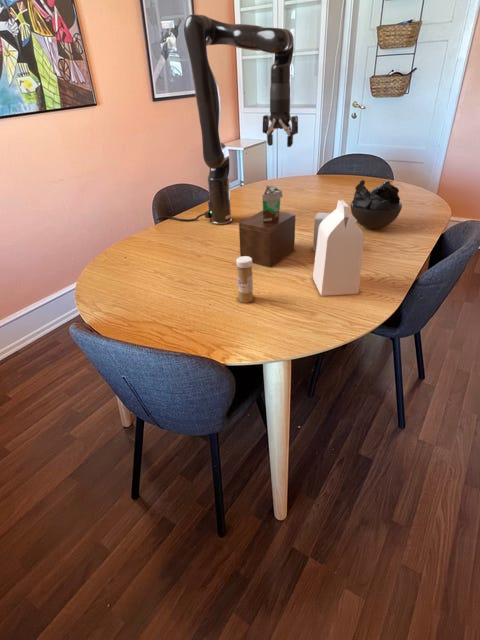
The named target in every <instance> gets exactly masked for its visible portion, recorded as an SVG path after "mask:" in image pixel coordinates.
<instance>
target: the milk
mask: <svg viewBox="0 0 480 640" xmlns="http://www.w3.org/2000/svg"><path fill="white" fill-rule="evenodd" d="M330 213H331V214H330V215H328V216H327V217H326V218H325V219H324V220H323V221H322V222H321V223H320V225H319V230H318V238H317V247H316V251H315V255H314V264H313V273H312V279H313V282H314V283H315V286H316V288H317V290H318V292H319V295H320V296H321V297H325V296H340V295H341V296H342V295H343V296H344V295H353V294H354V295H355V294H357V295H358V294H360V285H361V273H362V264H363V263H362V262H363V253H364V241H365V235H364V231H363V230H362V229H361V228H360V227H359V226H358V225H357V224H356V223H358V222H357V220H356V219H355V217H354V216H353V215H352V213H350V207H349V205H348V204H347V203H346V202H345V200H343V199H341V200H337V204H336V208H335V209H334V210H333V211H332V212H330Z"/></svg>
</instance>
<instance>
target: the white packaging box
mask: <svg viewBox="0 0 480 640" xmlns="http://www.w3.org/2000/svg"><path fill="white" fill-rule="evenodd" d="M331 213H332V212H317V213H316V215H315V217H314V220H313V222H314V223H313V240H312V242H313V243H312V244H313V245H312V251H313V252H316V247H317V238H318V230H319V225H320V223H321V222H322V221H323V220H324V219H325V218H326V217H327V216H328V215H330V214H331Z"/></svg>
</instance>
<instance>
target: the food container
mask: <svg viewBox="0 0 480 640" xmlns="http://www.w3.org/2000/svg"><path fill="white" fill-rule="evenodd" d="M281 198H283V191H282V188H281V187H279V186H275V185H266V189H265V191H264V194H262V199H261V200H262V211H263V223H272V222H275V221H277V220H279V212H281V211H280V209H281V200H282V199H281Z"/></svg>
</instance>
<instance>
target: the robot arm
mask: <svg viewBox="0 0 480 640" xmlns="http://www.w3.org/2000/svg"><path fill="white" fill-rule="evenodd" d="M183 35H184V41H185V45H186V48H187V52H188V58H189V61H190V67H191V74H192V81H193V85H194V94H195V100H196V107H197V113H198V118H199V119H198V120H199V125H200V130H201V140H202V141H201V142H202V144H201V145H202V158H203V161H204V163H205V164H206V166H207V167H208V168H209V172H208V176H207V185H208V186H207V187H208V198H209V199H208V201H207V206H208V210H206V211H204V213H200V214H199V215H197V216H196V217H194V218H189V219H188V218H178V217H176V216H175V217H174V216H169V215H160V216H158V217H157V219H156V220H157V221H159V220H160V219H163V218H164V219H165V218H166V219H171V220H175V221H180V222H194V221H197V220H198V219H200V217H204V218H205V219H209V222H211V224H214V225H227V224H229V223H231V222H232V208H231V207H232V206H231V189H230V175H231V164H230V163H231V162H230V161H231V160H230V152H229V149H228V147H227V145H226V144H225V143H223V142H221V137H220V120H221V96H220V90H219V85H218V82H217V79H216V76H215V75H214V73H213V70H212V68H211V66H210V62H209V57H208V47H209V46H216V45H223V46H230V47H234V48H237V49H242V50H248V51H254V52H264V53H267V54H272V55H273V54H274V59H273V64H272V65H271V67H270V85H269V112H270V115H269V114H265V115H263V116H262V134H266V144H267V145H268V147H269V146H273V144H274V141H273V140H274V135H273V133H274V131H275V130H276V129H280V130H283V131H284V132H285V134H286V135H287V138H286V147H287V148H290V147H293V143H294V136H295V135H297V134H298V133H299V116H298V115H294V116H293V115H292V116H291V105H292V104H291V103H292V101H291V99H292V98H291V97H292V87H291V77H292V76H291V75H292V73H291V72H292V71H291V69H292V68H291V66H292V63H293V56H294V49H295V40H294V39H295V38H294V35H293V33H292V31H290V30H289V29H287V28H282V27H281V28H280V27H265V26H262V25H255V24H246V23H227V22H222V21H219V20H216V19H213V18H211V17H209V16H207V15H204V14H197V13H193V14H190V15H188V16H187V17H186V18H185V21H184V25H183ZM207 46H208V47H207ZM290 123H291V124H290Z"/></svg>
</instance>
